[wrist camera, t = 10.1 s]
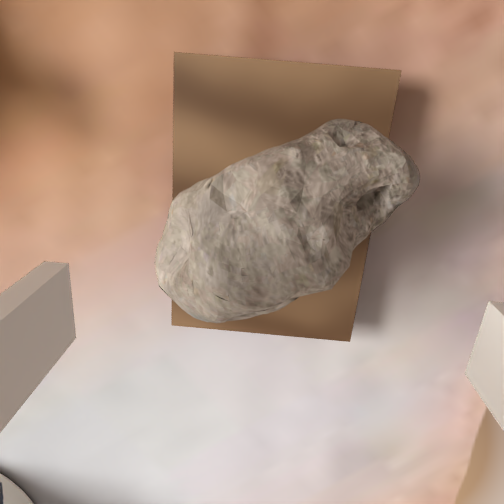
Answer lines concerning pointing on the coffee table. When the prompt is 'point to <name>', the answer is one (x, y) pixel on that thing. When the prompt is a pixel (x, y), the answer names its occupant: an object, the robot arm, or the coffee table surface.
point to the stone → (280, 221)
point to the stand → (267, 136)
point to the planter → (12, 492)
